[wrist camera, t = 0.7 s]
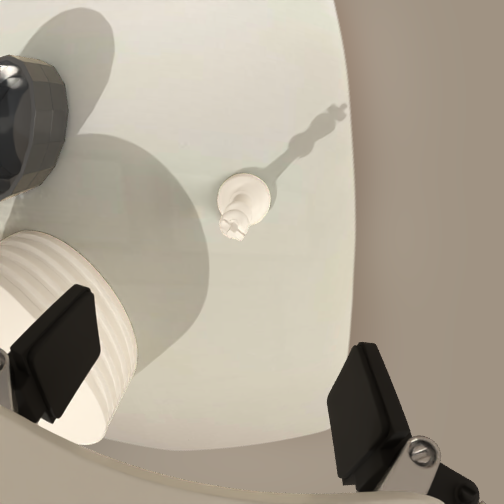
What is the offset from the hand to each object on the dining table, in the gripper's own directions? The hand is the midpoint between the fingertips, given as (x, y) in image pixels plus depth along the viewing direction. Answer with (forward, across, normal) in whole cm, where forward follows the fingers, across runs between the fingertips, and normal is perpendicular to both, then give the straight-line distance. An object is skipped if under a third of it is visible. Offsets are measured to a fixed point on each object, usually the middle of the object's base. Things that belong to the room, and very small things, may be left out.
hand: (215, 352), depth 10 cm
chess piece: (+20, +1, -1) cm, 20 cm away
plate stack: (+20, +25, +21) cm, 38 cm away
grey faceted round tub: (+20, +29, -6) cm, 35 cm away
